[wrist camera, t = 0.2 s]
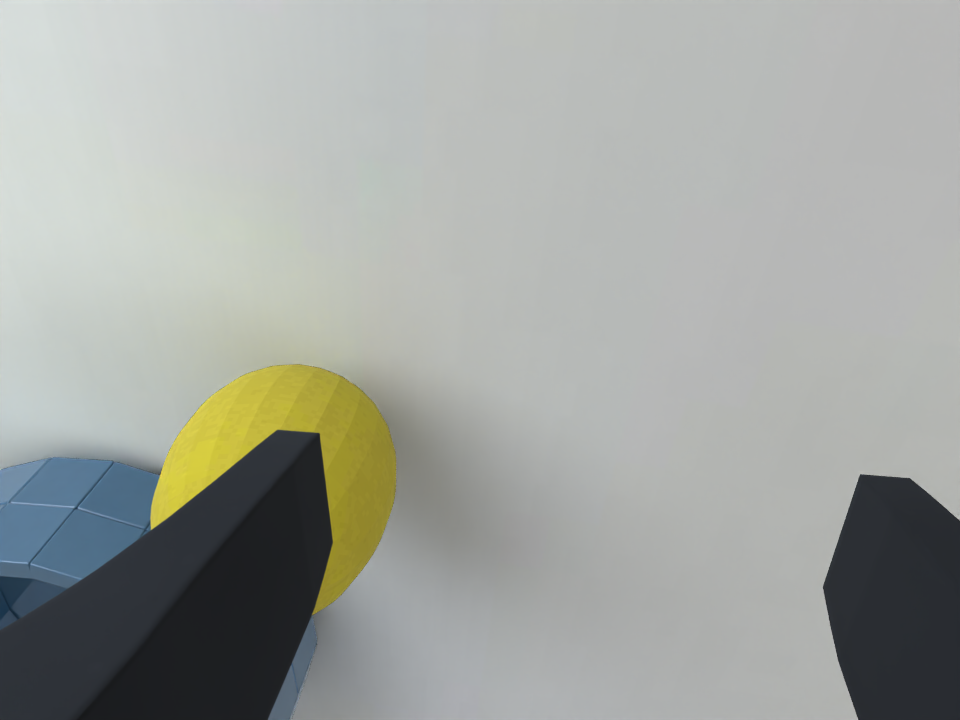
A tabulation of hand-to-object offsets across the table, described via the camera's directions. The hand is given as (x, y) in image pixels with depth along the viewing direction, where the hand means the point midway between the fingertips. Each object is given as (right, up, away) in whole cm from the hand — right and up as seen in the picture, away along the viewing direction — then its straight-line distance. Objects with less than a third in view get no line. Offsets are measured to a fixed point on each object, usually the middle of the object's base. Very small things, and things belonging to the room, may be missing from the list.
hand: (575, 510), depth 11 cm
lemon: (-6, +1, +12) cm, 14 cm away
